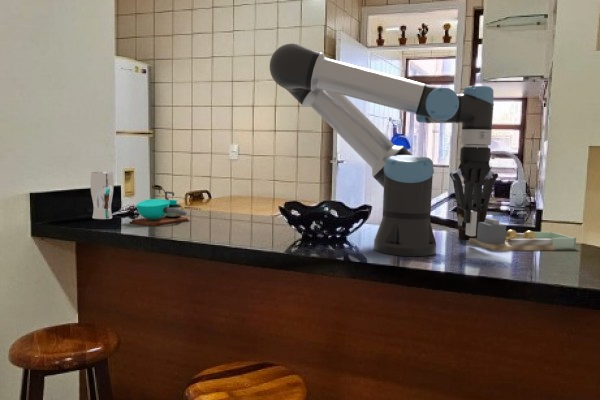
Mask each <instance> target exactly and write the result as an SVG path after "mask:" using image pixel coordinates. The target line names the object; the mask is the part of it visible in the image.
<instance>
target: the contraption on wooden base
mask: <svg viewBox="0 0 600 400" xmlns="http://www.w3.org/2000/svg"><path fill="white" fill-rule="evenodd" d="M151 189H153V190H156V191H158V194H159V197H160V199H159V198H150V199H144V200H142V201H139V202H138V203H136V204H135V205H136V206H135V207H136V209H137V212H138V213H139V215H140V216H141V217H142V218H135V219H131V221H129V224H131V225H138V226H144V227H161V226H167V225H174V224H181V223H190V222H191V220H190V219H189V218H188V217H186V215H187V214H188V213H187V211H186V209H185V206H184V205H182V204H179V203H178V200H177V199H170V198H169V197H168V194H171V195H172V197H175V192H174V191H167V190H166V191H165V189H164V187H163V186H162V185H158V184H152V185H151ZM161 191H163V193H164V198H162V197H163V196H162V195H161Z"/></svg>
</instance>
